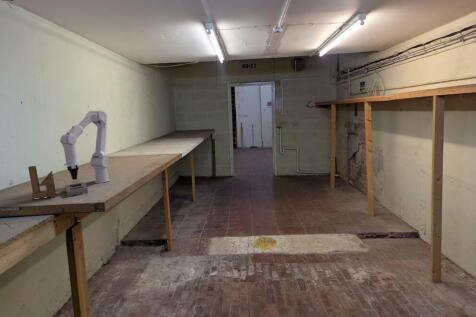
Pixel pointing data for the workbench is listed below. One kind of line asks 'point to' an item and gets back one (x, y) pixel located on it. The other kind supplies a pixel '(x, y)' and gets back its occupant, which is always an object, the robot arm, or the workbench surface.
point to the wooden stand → (46, 182)
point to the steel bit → (75, 179)
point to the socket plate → (76, 189)
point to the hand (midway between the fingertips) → (74, 178)
